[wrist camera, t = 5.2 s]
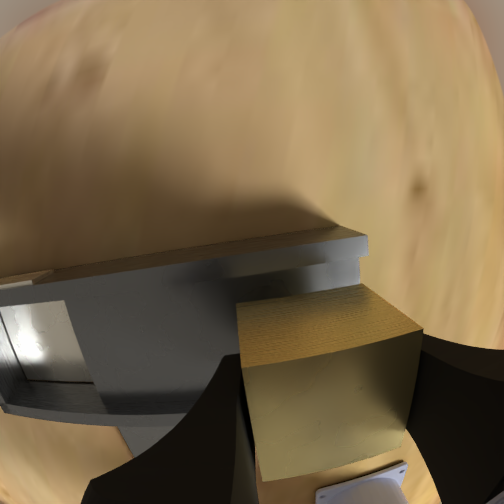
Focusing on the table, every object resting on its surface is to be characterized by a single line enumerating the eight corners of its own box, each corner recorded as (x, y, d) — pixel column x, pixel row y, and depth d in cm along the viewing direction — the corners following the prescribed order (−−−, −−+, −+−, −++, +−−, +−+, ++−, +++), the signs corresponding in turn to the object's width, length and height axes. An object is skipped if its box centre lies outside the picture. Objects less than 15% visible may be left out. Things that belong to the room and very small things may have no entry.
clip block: (359, 384, 11) (400, 446, 7) (252, 405, 11) (262, 481, 7) (362, 283, 10) (423, 328, 7) (235, 303, 10) (241, 367, 6)
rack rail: (346, 363, 16) (366, 394, 13) (24, 388, 15) (4, 412, 12) (340, 221, 14) (367, 229, 11) (-17, 279, 13) (-47, 293, 10)
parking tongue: (251, 475, 17) (252, 485, 16) (156, 479, 17) (154, 489, 16) (233, 407, 16) (234, 419, 15) (120, 414, 15) (116, 424, 14)
